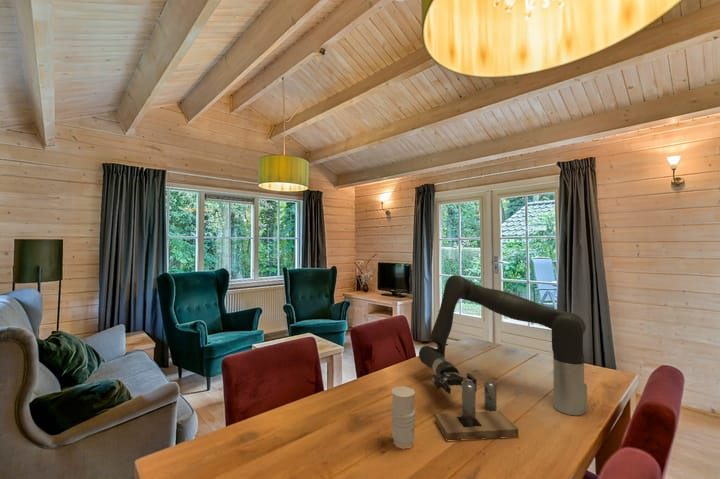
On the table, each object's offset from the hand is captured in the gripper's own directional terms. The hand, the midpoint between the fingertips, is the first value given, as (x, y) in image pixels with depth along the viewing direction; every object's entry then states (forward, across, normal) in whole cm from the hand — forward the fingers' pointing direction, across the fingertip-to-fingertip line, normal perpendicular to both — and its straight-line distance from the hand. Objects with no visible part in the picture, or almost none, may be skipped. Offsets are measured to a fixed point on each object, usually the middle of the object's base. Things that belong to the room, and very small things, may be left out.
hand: (462, 390), depth 111 cm
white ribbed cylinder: (+10, -22, +10) cm, 26 cm away
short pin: (-7, +13, +10) cm, 18 cm away
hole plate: (+5, +2, +10) cm, 11 cm away
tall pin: (+5, 0, +10) cm, 11 cm away
